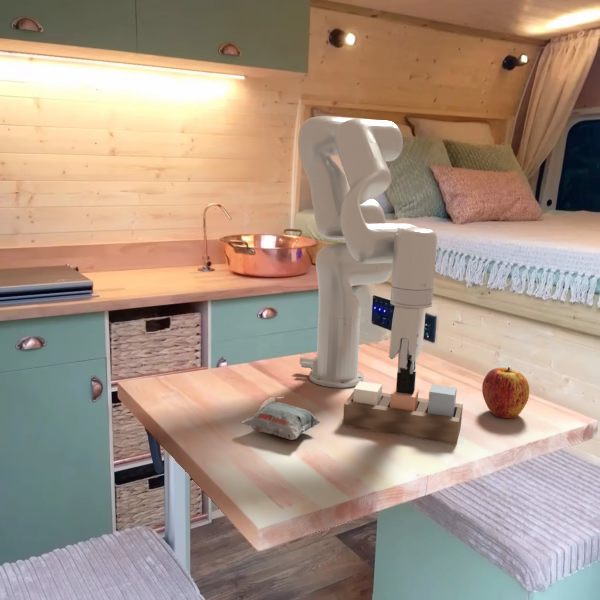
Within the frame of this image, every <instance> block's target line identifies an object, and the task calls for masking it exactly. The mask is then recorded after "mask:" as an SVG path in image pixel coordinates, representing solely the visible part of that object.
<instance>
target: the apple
mask: <svg viewBox="0 0 600 600" xmlns="http://www.w3.org/2000/svg"><path fill="white" fill-rule="evenodd" d="M481 389H482V391H481V392H482V398H483V400H484V403H485V404H486V406H487V408H488V410H489V411H490V412H491V413H492V414H493V415H495V416H496V417H498V418H501V419H513V418H516V417H517V416H519V415H520V414H521V413H522V411H523V410H524V408H525V407H526V405H527V404H528V403H527V402H528V401H529V397H530V384H529V381H528V380H527V377H525V375H524V374H522V373H521V372H520V371H518V370H516V369H513V368H511V367H495V368H493V369H491V370H489V371H488V372H487V373H486V375H485V377H484V378H483V381H482V386H481Z"/></svg>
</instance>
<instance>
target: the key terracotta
mask: <svg viewBox="0 0 600 600" xmlns="http://www.w3.org/2000/svg"><path fill="white" fill-rule="evenodd" d="M419 391H420V390H419V389H417V388H415V390H414V392H413V394H406V393H399V392H396V385H395V386H394V387H393V389H392V391H391V392H390V394H391V395H390V407H391V408H397V409H404V410H410V411H416V410H417V403H418V398H419Z"/></svg>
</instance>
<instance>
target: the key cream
mask: <svg viewBox="0 0 600 600" xmlns="http://www.w3.org/2000/svg"><path fill="white" fill-rule="evenodd" d="M353 391H354V398H353V402H358V403H364V404H371V405H377V406H378V405H379V404H380V402H381V397H382V393H383V384H382V383H381V384H380V383H375V382H374V383H373V382H367V381H363V382H361V381H359V383H358V384H357V385H356V386H354V388H353Z"/></svg>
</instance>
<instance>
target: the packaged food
mask: <svg viewBox="0 0 600 600" xmlns="http://www.w3.org/2000/svg"><path fill="white" fill-rule="evenodd" d="M259 409H260V408H259ZM259 409H258V410H257V411H256V412H255V413H254V414H253V415H252V416H251V417H249V418H246V419H244V420H242V421H241V423H240V424H241V425H246V426H249V427H251V428H252V429H253V430H255V431H257V432H260V433H265V434H268V435H273V436H275V437H278V438H281V439H288V440H291V441H292V440H297V439H298V437H300V435H301V434H303V433H305V432H306V431H308V430H309V429H311V428H314V427H315V426H317V425H319V424H320V423H321V421H320V420H319V419H318V418H317V417H316V416H315V414H313V413H312V412H310V410H307V409H305V408H301V407H297V406H295V405H289V404H287V403H283V402H280V401H275V402H271V403H268V404H266V405H265V406H264V407H262V408H261V409H260V410H259Z"/></svg>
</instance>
